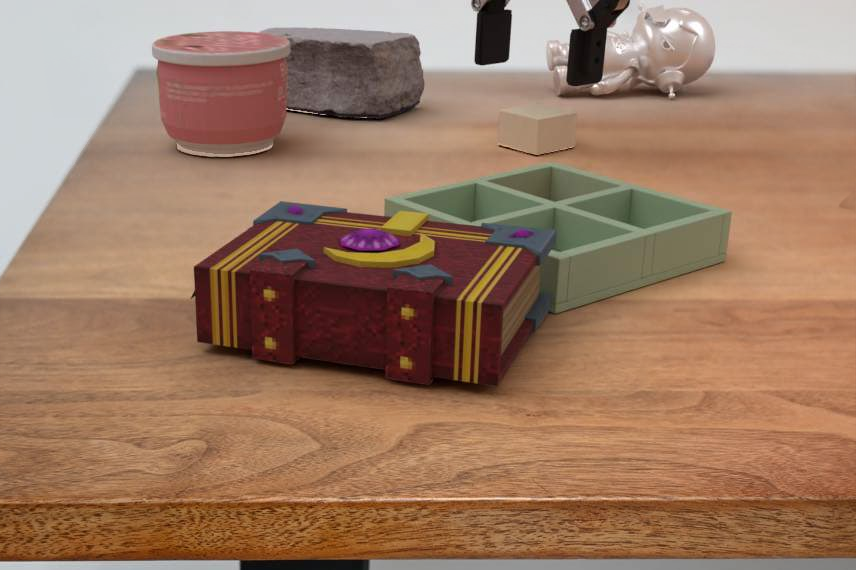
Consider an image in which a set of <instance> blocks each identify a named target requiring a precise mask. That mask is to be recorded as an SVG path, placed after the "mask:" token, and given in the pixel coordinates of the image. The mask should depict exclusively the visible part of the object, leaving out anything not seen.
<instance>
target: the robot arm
mask: <svg viewBox="0 0 856 570" xmlns="http://www.w3.org/2000/svg"><path fill="white" fill-rule="evenodd" d="M510 1H511V0H470V5H471V9H472V10H473V11H474V12H475V13H476V12H477V13H476V26H475V43H474V44H475V45H474V60H473V61H474V64H475V65H477V66H482V67H483V66H490V65H495V64H502V63H503V64H504V63H506V62H508V61H509V59H510V51H511V35H512V23H513V22H512V21H513V14H512V13H513V10H512V9H508V8H506V7H507V6H508V4H510ZM565 1H566V3H567V6H568V7H569V10H570V11H571V14H572V16H573V17H574V20H575V22H576V24H577V27H578V28H572V29H571V32H570V34H569V43H568V44H569V54H568V66H567V77H566V81H567V83H568V85H570V86H575V87H576V86H582V85H588V84H594V83H599V82H600V81H601V80H602V76H603V66H604V57H605V47H606V37H607V31H608V29H611V28H614V27H615V25H616V24H617V20H618V18H619V17H620V16H621V15H622V14H623V13H624V12H625V11H626V10H627V9H628V8H629V6H630V4H631V0H565Z"/></svg>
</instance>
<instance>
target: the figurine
mask: <svg viewBox="0 0 856 570" xmlns="http://www.w3.org/2000/svg"><path fill="white" fill-rule="evenodd" d="M637 8H638V10H639V11H641V12H640V13H639V14H638V15H637V16H636V23H635V24H634V26H633V29H632V33H631V35H629V32H628V31H627V30H626V31H624V32H622V33H620V34H619V33H617V32H613V31H609V30H607V37H606V47H605V57H604V66H603V76H602V80H601V81H600V82H599V83H594V84H588V85H582V86H576V87H575V86H570V85H568V83H567V81H566V77H567V66H568V54H569V43H568V42H564V43H561V42H560V40H559V39H554V40H551V39H549V40H547V41H546V45H545V57H546V63H547V67H548V70H549V71H550V72H553V79H552V80H553V86H554V87H553V88H554V91H555V94H556V95H557V96H563V95H564V94H569V93H573V92H580V90H583V89H584V90H585V89H589V88H590V90H589V91H590V94H591V95H593V96H596V97H597V96H601V95H609V94H612V93H614V92H616V91H617V90H618V89H619V88H620V87H622V86H623V85H625V84H626V83H627V82H628V84H627V85H626V86H627V87H626V88H627V89H629V90H630V89H632V88H635V87H636V86H638V85H641V84H644V85H646V86H648V87H651V88H652V87H653V88H658V89H659V90H660V91H661V92H662V93H665V94H668V96H667V97H668V99H669V100H674V99H675V98H676V94H675V93H676V92H677V91H678V90H680V89H681V87H682V86H685V85H688V84H691V83H694V82H696V81H697V80H699V79H700V78H702V77H703V76H704V75H705V74H706V73H707V72H708V71H709V69H710V68H711V66H712V65H713V62H714V60H715V56H716V40H715V34H714V31H713V28H712V26H711V24H710V23H709V22H708V21H707V19H706V18H705V17H704V16H703V15H701V14H700V13H699V12H697V11H695V10H693V9H691V8H686V7H669V8H666V9H665V5H664V4H660V5H656V6H654V7H648V8H646V4H644V3H640V4H639V5H638V7H637Z"/></svg>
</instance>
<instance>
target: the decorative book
mask: <svg viewBox="0 0 856 570" xmlns="http://www.w3.org/2000/svg"><path fill="white" fill-rule="evenodd" d="M556 234H557V230H553V229H542V228H532V227H522V226H511V225H501V224H490V223H482V224H481V226H473V225H464V224H454V223H445V222H435V221H429V214H427V213H417V212H407V211H399V212H398V213H397V214H395V215H394V216H393V217H388V216H384V215H379V214H367V213H358V212H348V208H347V207H346V208H345V207H335V206H329V205H328V206H326V205H319V204H310V203H300V202H292V201H283V200H280V201H279V202H278V203H276V204H275V205H273V206H272V207H270V208H269V209H268V210H266V211H265V212H263V213H262V214H260V215H259V216H258V217H256V218H255V219H253V221H252V226H250V227H249V228H248V229H246V230H245V231H243V232H241V233H240V234H239V235H237V236H236V237H235V238H233V239H232V240H230V241H229V242H227V243H226V244H224V245H222V246H221V247H220V248H219V249H217V250H216V251H214V252H213V253H211V254H210V255H209V256H207V257H206V258H204V259H203V260H201V261H200V262H199V263H197V264H195V265H194V266H193V278H194V279H193V280H194V282H193V283H194V290H193V293H192V294H191V296H190V300H192V299H193V298H194V302H195V303H194V305H195V321H196V322H195V325H196V342H197V343H201V344H208V345H209V344H210V345H215V346H221V347H229V348H234V349H242V350H248V351H251V357H252V359H253V360H261V361H266V362H273V363H281V364H287V365H294V364H295V363H296V362H297V361H298V360H299V359H300V358H302V359H310V360H315V361H316V360H317V361H323V362H329V363H335V364H343V365H351V366H356V367H363V368H369V369H370V368H371V369H377V370H384V371H385V379H386V380H393V381H398V382H399V381H400V382H407V383H411V384H412V383H413V384H419V385H427V386H430V385H431V384H432V382H433V381H434V380H435V378H437V379H443V380H451V381H457V382H458V381H459V382H464V383H472V384H476V385H477V384H479V385H484V386H491V387H498V386H499V385H500V383H501V382H502V380H503V378H504V376H505V374H506V373H507V371H508V370H509V368H510V366H511V365H512V364H513V362H514V360H515V358H516V356H517V355H518V353H519V352H520V350H521V349H522V347H523V345H524V344H525V342H526V340H527V339H528V337H529V335H530V334H531V332H533V333H536V332H537V330H538V329H539V327H540V326H541V324H542V322H543V321H544V319H545V318H546V316H547V315H548V313H549V310H550V308H551V302H552V294H547V293H539V285H540V271H541V264H542V263H543V261H544V260H545V258H546V257H547V255H548V254H549V253H550V251H551V250H552V248H553V247H554V245H555V244H556Z"/></svg>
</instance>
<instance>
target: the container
mask: <svg viewBox="0 0 856 570" xmlns="http://www.w3.org/2000/svg"><path fill="white" fill-rule="evenodd" d="M290 52H291V48H290V41H289V40H288V39H286V38H284V37H281V36H278V35H273V34H266V33H259V32H256V31H255V32H254V31H239V30H237V31H236V30H235V31H233V30H231V31H230V30H229V31H228V30H227V31H226V30H223V31H222V30H221V31H219V30H218V31H200V32H199V31H198V32H188V33H181V34H174V35H168V36H165V37H161V38H158V39H156V40H155V41H153V42H152V43H151V55H152V57H153V58H154V59H155V60H157V66H156V80H157V92H158V101H159V102H158V103H159V110H160V120H161V122H162V125H163V127H164V129H165V132H166V133H167V135H168V136H169V137H170V138H171V139H172V140H173V141H175V143H176V142H177V143H178V144H179V145H180V146H181V147H183V148H185V149H188V150H192V151H196V152H197V151H198V152H205V153H213V154H235V153H244V152H252V151H257V150H261V149H264V148H267V147H269V146H270V145H272V143H273V144H274V139H275V138H276V137H278V136H279V134H280V133H281V132H282V129H283V126H284V124H285V121H286V118H287V111H286V106H287V74H288V69H287V64H286V59H285V57H287V56H288V55H289V54H290Z"/></svg>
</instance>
